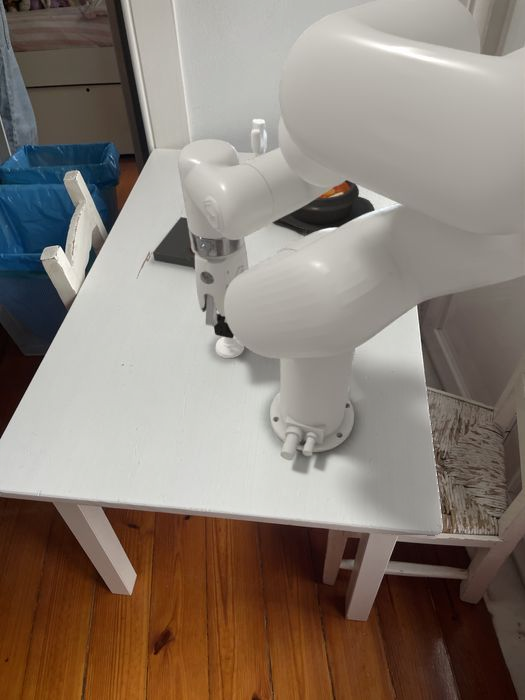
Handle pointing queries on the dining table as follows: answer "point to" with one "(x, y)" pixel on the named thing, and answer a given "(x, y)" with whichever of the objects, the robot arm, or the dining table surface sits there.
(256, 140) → the figurine
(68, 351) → the dining table surface
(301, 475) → the dining table surface
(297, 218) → the casserole
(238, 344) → the chess piece
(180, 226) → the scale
